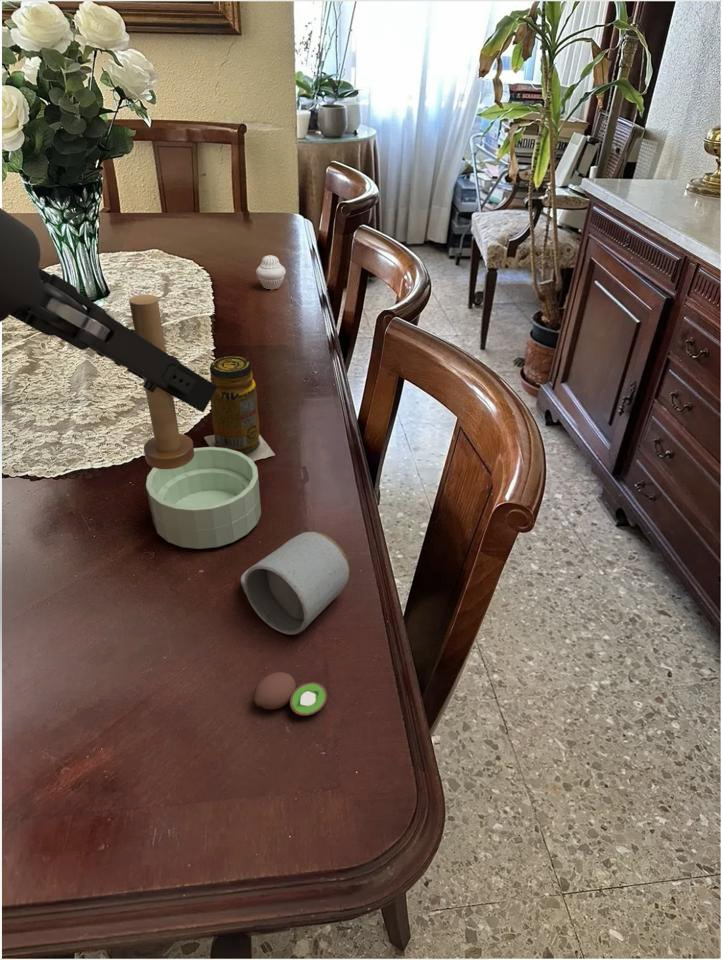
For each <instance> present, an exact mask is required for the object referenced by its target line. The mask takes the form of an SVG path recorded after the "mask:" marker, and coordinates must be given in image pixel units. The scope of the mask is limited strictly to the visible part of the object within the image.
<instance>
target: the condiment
mask: <svg viewBox="0 0 722 960" xmlns="http://www.w3.org/2000/svg"><path fill="white" fill-rule="evenodd" d="M252 369H253V368H252V364H251V362H250V361H249V360H248V359H246V358H245V357H241V356H233V355H232V356H231V355H230V356H229V355H228V356H223V357H219V358H216V359H215V360H213V362H211V363H210V365H209V373H210V377H209V378H210V382H211V383H213V384H214V385H216V386H218V387H217V389H216V391H215V393H214V394H213V396H212V398H211V400H210V402H209V403H210V410H211V417H212V427H213V434H211V435H206V436H204V437H203V438H204V440H205V441H206V443H207V445H208V447H218V448H228V449H231V450H234V451H238V452H241V453H243V454H244V455H246V456H247V457H249V458H251V459H252V461H253V462H254V463H255V462H256V461H258V460H261V459H262V460H264V459H267V458H269V457H274V456H276V454H275V452H274V451H273V450H272V448H271V446H269V444H268V443H267V442H266V441H265V440H264V438H263V437H262V435H261V434H260V419H259V417H260V416H259V408H258V393H257V383H256V382H255V380H254V379H253V372H252Z"/></svg>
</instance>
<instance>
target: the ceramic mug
mask: <svg viewBox="0 0 722 960" xmlns="http://www.w3.org/2000/svg"><path fill="white" fill-rule="evenodd" d="M350 571H351V570H350V564H349V560H348V558H347V556H346V554H345V552H344V551H343V549H342V547H341V546H340V545H339V544H338V543H337V542H336V541H335V540H334V539H332V538H331V537H330V536H328V535H326V534H324V533H322V532H320V531H315V530H311V531H305V532H302V533H300V534H298V535H296V536H294V537H292V538H291V539H289V540H287V541H286V542H285V543H284V544H282V545H281V546H280V547H278V548H277V549H276V550H274V551H273V552H271V553H269V554H268V555H267V556H265V557H263V558H262V559H261V560H259V561H258V562H257V563H255V564H254V565H252V566H250V567H249V568H248V569H247V570H245V571H244V572H243V574H242V575H241V576H240V584H241V587H242V589H243V592H244V594H245V595H246V596H247V600H248V602H249V603H250V606H251V607H252V609H253V610H254V611H255V613H256V614H257V615H258V617H259V618H260V619H261V620H262V621H263V622H264V623H265V624H267V625H268V626H269V627H270V628H272V629H273V630H275V631H277V632H279V633H281V634H284V635H289V636H291V635H298V634H300V633H302V632H303V631H305V630H306V628H307V627H308V626H309V625H310V624H311V623H312V622H313V621H314V620H315V619H316V618H317V617H318V616H319V615H320V614H321V613H322V612H323V611H324V610H325V609H326V608H327V607H328V606H329V605H330V604H331V603H332V602H333V601H334V600H336V598H337V597H338V596H339V595H340V594H341V593H342V591H343V590H344V588H346V585H347V583H348V581H349V578H350V575H351V574H350Z"/></svg>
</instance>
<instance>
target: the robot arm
mask: <svg viewBox="0 0 722 960" xmlns="http://www.w3.org/2000/svg"><path fill="white" fill-rule="evenodd" d="M40 245H41V244H40V242H39V238H38V237H37V235H36V233H35V232H34V230H32V229H31V228H30V227H29V226H28V225H27V224H25V223H23V222H22V221H20V220H19V219H17V218H16V217H15V216H13V215H11V214H10V213H8V212H7V211H5V209H2V207H0V323H1V322H3V321H4V320H6V319H7V318H9V316H11V317H12V318H14V319H15V320H18V321H19V322H22V323H23V324H25V325H27V326H29V327H30V328H32V329H34V330H35V331H38V332H40V333H42V334H43V335H46V336H48V337H51V336H55V337H57V338H59V340H61V341H64V342H65V343H67V344H69V345H71V346H73V347H75V348H77V349H78V350H81V351H83V350H87V349H90V350H92V351H94V352H95V353H96V355H97V356H99V357H101V358H103V357H105V358H107V359H109V360H110V361H112V362H113V363H114V365H116V366H118V367H123V368H126V371H127V372H129V373H130V374H133V375H134V376H136V377H138V378H140V379H142V380H143V381H144V379H143V377H144V378H146V379H147V381H146V382H145V384H143V386H142V388H143V389H147V390H149V391H150V392H152V393H153V392H154V391H155V389H156V387H158V388H160V389H162V390H163V391H165V392H167V393H169V394H171V395H172V396H173V398H175V399H178V400H179V401H181V402H183V403H185V404H187V405H189V406H190V407H192V408H194V409H196V410H198V411H200V412H201V413H204V412H205V411H206V409H207V407H208V405H209V404H210V403H211V402H210V400H211V398H212V396H213V394H214V393H215V391H216V389H217V387H218V386H216V385H214V384H213V383H211V380H208V379H206V378H205V377H204V376H202V375H200V374H198V373H197V372H195V371H193V370H192V369H191V368H189V367H187V366H186V365H184V364H183V363H181V361H180V360H179V359H178V357H177V356H174V355H170V354H168V353H167V352H166V353H165V352H164V351H162V350H161V349H159V348H158V347H156V346H155V345H153V344H151V343H150V342H148V341H147V340H145V339H144V338H142V337H141V336H139V335H138V334H136V333H135V330H134V328H131V329H130V328H129V327H127V326H125V325H123V323H120V322H119V321H118V320H117V319H115V318H114V317H112V316H111V315H109V314H108V313H107V311H106V310H105V308H103V307H102V306H100V305H98V304H97V303H95V302H93V301H92V300H90V299H89V298H87V297H86V296H84V295H82V294H81V293H79V292H78V290H77V287H75V286H74V285H73V284H71V283H70V282H68V281H66V280H65V279H63V278H62V277H60V276H58V275H57V274H55V273H51V274H50V273H49V272H47V271H46V270H43V269H42V268H40V262H41V255H42V254H41V246H40Z"/></svg>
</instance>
